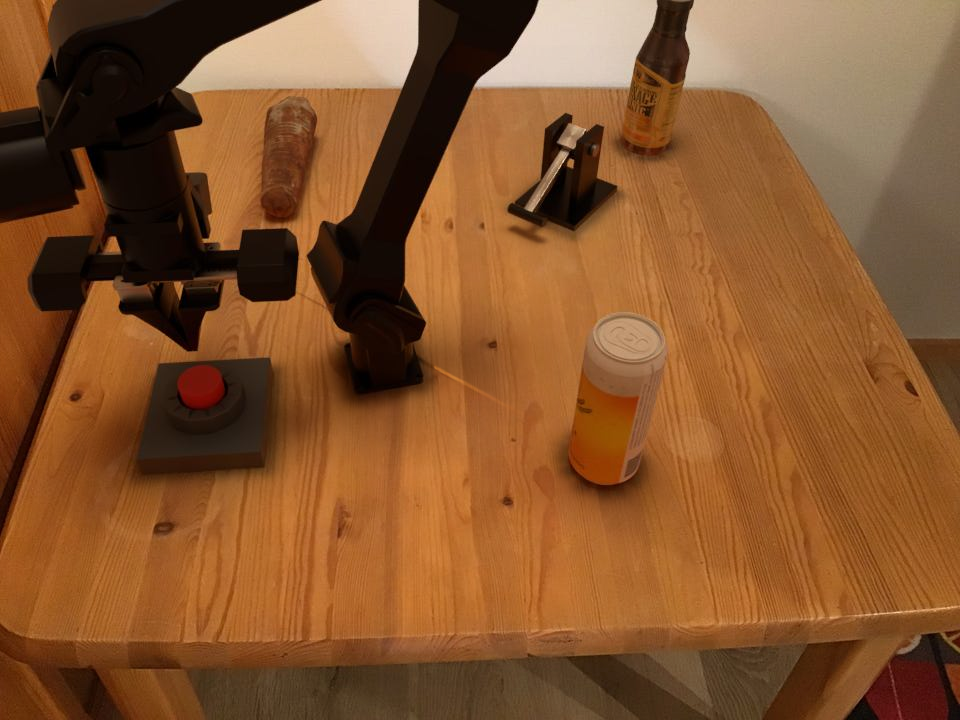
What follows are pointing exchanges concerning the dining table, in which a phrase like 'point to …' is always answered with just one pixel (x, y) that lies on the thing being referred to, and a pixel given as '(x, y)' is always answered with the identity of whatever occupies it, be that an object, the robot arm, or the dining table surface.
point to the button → (201, 387)
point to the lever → (549, 177)
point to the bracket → (572, 178)
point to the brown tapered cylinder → (286, 154)
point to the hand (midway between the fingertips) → (193, 347)
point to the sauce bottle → (658, 80)
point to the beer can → (616, 396)
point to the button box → (208, 420)
